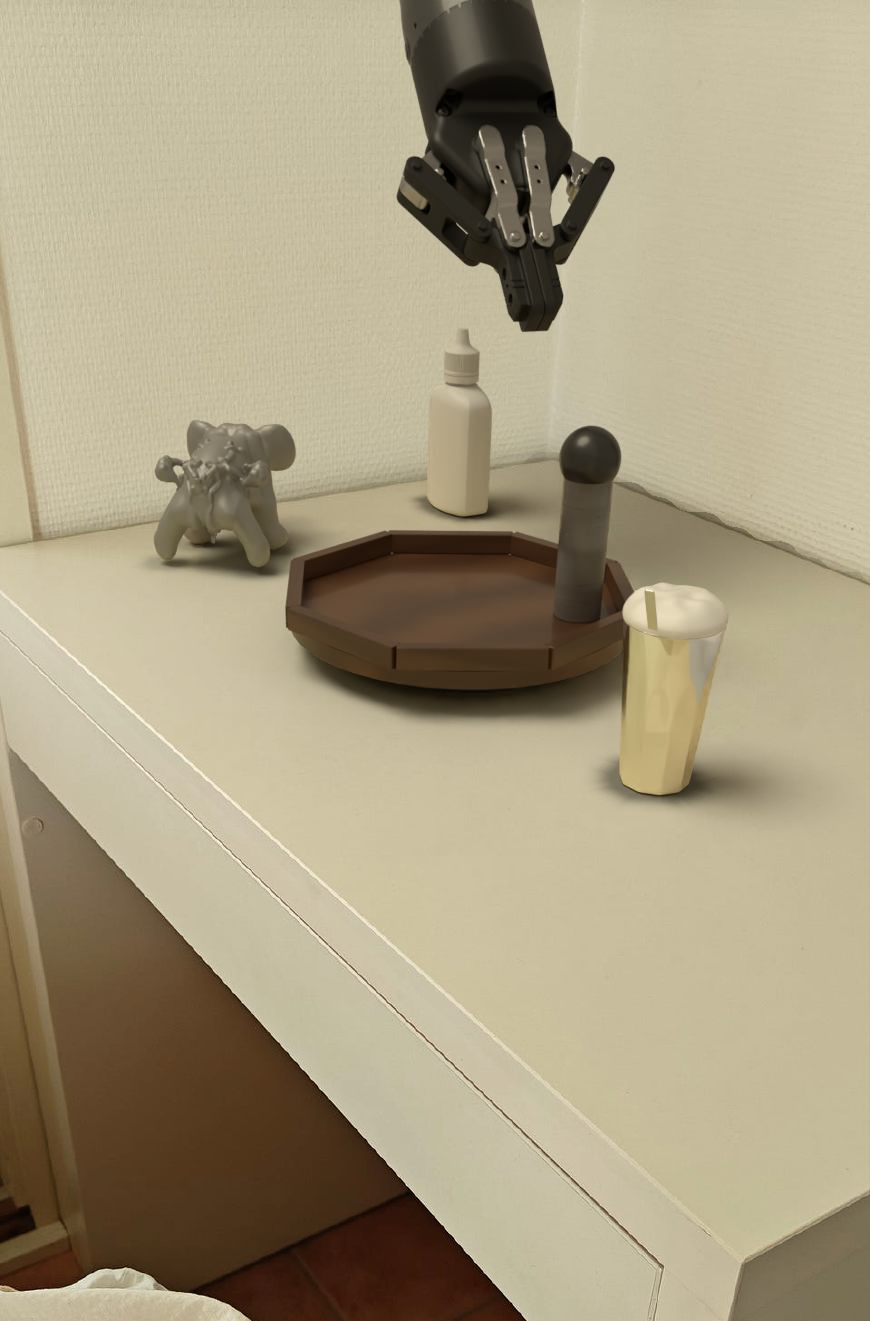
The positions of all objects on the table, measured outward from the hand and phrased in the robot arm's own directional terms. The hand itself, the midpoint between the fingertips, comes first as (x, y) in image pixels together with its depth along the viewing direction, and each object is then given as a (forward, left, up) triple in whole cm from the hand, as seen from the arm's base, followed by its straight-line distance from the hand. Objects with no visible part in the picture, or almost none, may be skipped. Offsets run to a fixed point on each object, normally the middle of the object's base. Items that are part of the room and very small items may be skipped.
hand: (540, 322), depth 75 cm
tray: (+3, +8, -14) cm, 17 cm away
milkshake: (-7, +24, -16) cm, 29 cm away
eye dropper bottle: (+6, -19, -16) cm, 25 cm away
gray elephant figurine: (+20, -7, -16) cm, 26 cm away
